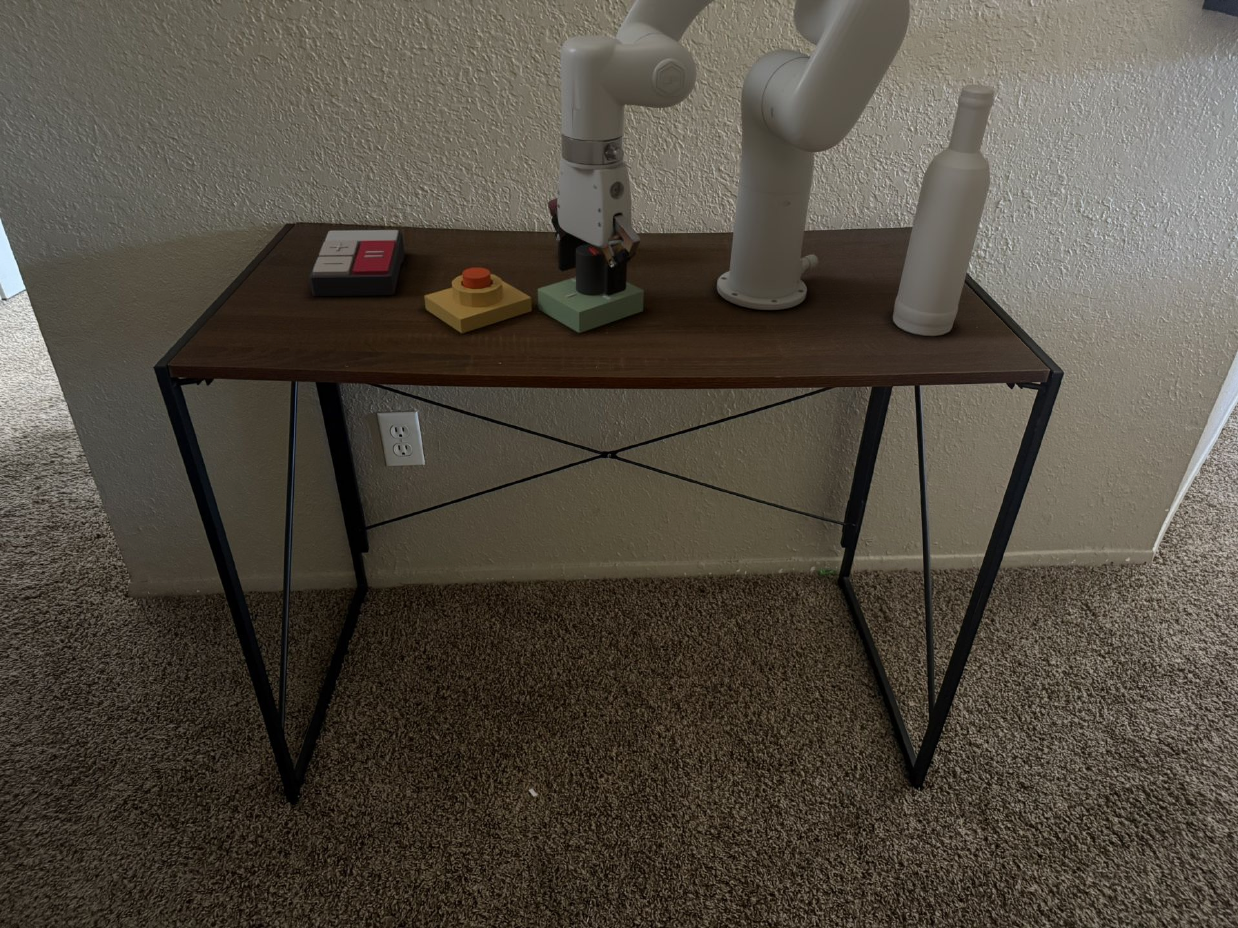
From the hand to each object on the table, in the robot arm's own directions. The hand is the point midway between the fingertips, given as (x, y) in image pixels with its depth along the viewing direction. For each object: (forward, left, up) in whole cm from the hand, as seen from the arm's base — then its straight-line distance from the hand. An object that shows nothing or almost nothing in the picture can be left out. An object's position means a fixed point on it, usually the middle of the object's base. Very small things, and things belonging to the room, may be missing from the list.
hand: (591, 280), depth 119 cm
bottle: (-33, +30, -5) cm, 45 cm away
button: (+12, -9, -1) cm, 15 cm away
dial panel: (0, 0, -4) cm, 4 cm away
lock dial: (0, 0, -1) cm, 1 cm away
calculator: (+19, -29, -5) cm, 35 cm away
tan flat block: (+12, -9, -4) cm, 16 cm away
